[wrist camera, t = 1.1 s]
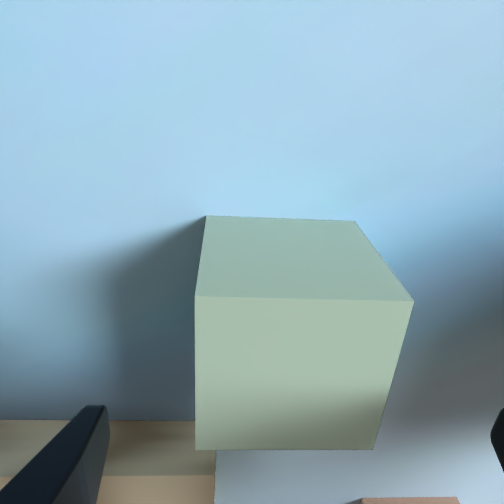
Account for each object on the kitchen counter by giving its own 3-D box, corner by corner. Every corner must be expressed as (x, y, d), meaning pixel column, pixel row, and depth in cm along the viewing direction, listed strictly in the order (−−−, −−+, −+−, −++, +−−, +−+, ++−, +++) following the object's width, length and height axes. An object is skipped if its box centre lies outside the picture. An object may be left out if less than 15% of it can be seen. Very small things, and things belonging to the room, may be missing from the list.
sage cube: (354, 220, 14) (414, 301, 9) (332, 337, 16) (372, 449, 11) (206, 214, 13) (194, 296, 9) (205, 335, 16) (195, 450, 11)
